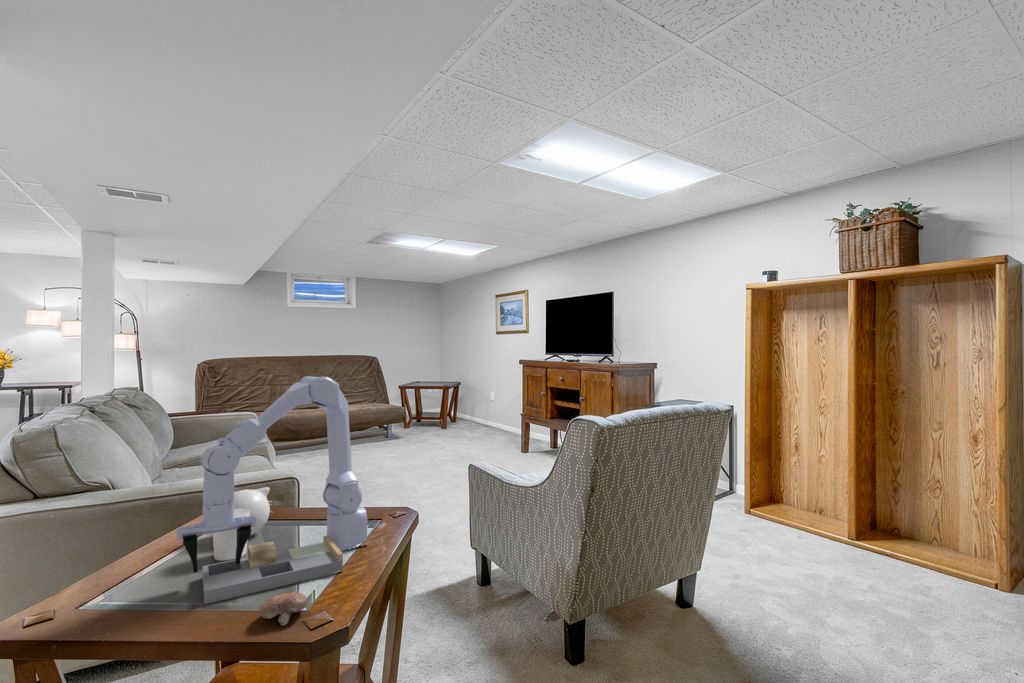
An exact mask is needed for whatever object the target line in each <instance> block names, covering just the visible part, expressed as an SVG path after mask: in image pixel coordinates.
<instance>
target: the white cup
mask: <svg viewBox="0 0 1024 683" xmlns="http://www.w3.org/2000/svg"><path fill="white" fill-rule="evenodd" d="M249 516H250V511H249V510H247V509H234V518H236V517H249ZM212 544H213V545H212V546H213V557H214V560H215V561H220V562H221V561H222V562H227V561H232V560H235V558H236V547H237V529H234V530H228V531H222V532H216V533H212ZM247 552H248V541H247V542H246V544H245V546H244V549H243V552H242V555H241V558H242V557H244V556H245V555H246V554H247Z"/></svg>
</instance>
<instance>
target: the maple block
mask: <svg viewBox="0 0 1024 683" xmlns="http://www.w3.org/2000/svg"><path fill="white" fill-rule="evenodd" d="M276 552H277V547H276V545H275V543H274V541H268V542H263V543H258V544H257V543H256V544H251V545H247V557H248V562H249V565H250V567H254V566H259V565H264V564H269V563H274V562H276Z"/></svg>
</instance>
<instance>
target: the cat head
mask: <svg viewBox="0 0 1024 683" xmlns="http://www.w3.org/2000/svg"><path fill="white" fill-rule="evenodd" d="M270 491H271V489H270V487H268V486H266V487H261V488H256V489H251V488H250V489H247V488H246V489H241V490H237V491H234V509H247V510H249V511H250V516H256V518H257V526H256V527H251V534H250V536H253V535H255V534H256V533H258V532H259V531H260V530H261V529H263V528H264V526H265V525H266V523H267V521H268V519H269V517H270V513H273V511H272V510H271V508H270V505H271V506H272V505H273V504H272V501H271V500H268V498H267V496H268V494H269V492H270Z"/></svg>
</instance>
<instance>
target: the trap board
mask: <svg viewBox="0 0 1024 683" xmlns="http://www.w3.org/2000/svg"><path fill="white" fill-rule="evenodd" d="M322 538H323V543H322V542H319V543H313V544H309V545H303V546H299V547H294V548H289V549H284V550H283V549H282V550H279V551H276V562H274V563H269V564H264V565H259V566H254V567H250V565H249V562H248V556H247V557H243V558H242V557H241V559H240V564H236V560H235V559H233V560H227V561H222V562H217V563H213V564H207V565H202V568H201V570H202V573H201V574H202V575H201V578H202V579H201V580H202V591H203V592H202V593H203V603H204V604H203V605H207V604H211V603H216V602H221V601H225V600H228V599H233V598H238V597H242V596H246V595H250V594H253V593H258V592H259V593H260V592H263V591H264V592H265V591H267V590H272V589H276V588H279V587H284V586H289V585H293V584H296V583H301V582H306V581H310V580H314V579H319V578H323V577H324V578H325V577H327V576H332V575H333V574H332V573H335V572H337V571H339V570H342V569H343V565H344V554H343V551H340V550H339V548H338V547H337V546H336V545H335V544H334V542H333V541H332V540H331V539H330V538H329V536H328V535H327V534H326V535H324V536H323V537H322ZM331 574H332V575H331Z"/></svg>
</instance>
